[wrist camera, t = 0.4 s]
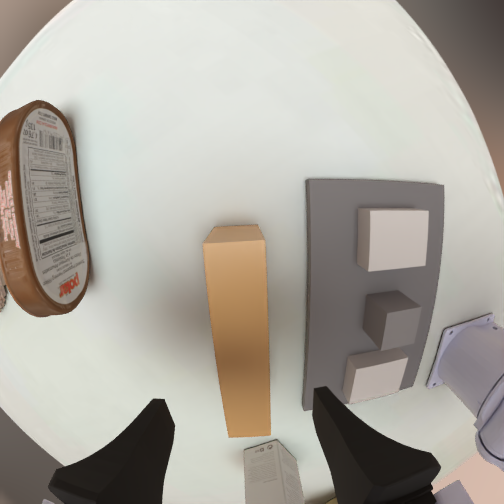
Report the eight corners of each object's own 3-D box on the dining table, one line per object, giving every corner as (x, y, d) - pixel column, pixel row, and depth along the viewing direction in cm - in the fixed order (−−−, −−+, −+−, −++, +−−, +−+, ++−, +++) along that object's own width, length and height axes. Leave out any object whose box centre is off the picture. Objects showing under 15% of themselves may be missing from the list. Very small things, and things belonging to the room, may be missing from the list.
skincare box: (242, 449, 24) (244, 539, 13) (277, 438, 24) (291, 531, 12) (265, 470, 26) (273, 547, 14) (297, 460, 25) (314, 539, 14)
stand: (437, 184, 19) (472, 186, 14) (408, 380, 23) (428, 405, 19) (305, 179, 18) (325, 177, 14) (301, 404, 23) (311, 437, 18)
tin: (53, 120, 16) (-14, 103, 8) (81, 108, 16) (16, 80, 8) (77, 292, 20) (18, 338, 11) (106, 290, 20) (48, 340, 11)
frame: (257, 224, 19) (265, 240, 13) (264, 385, 22) (270, 435, 16) (214, 227, 19) (202, 243, 13) (230, 387, 22) (228, 437, 16)
